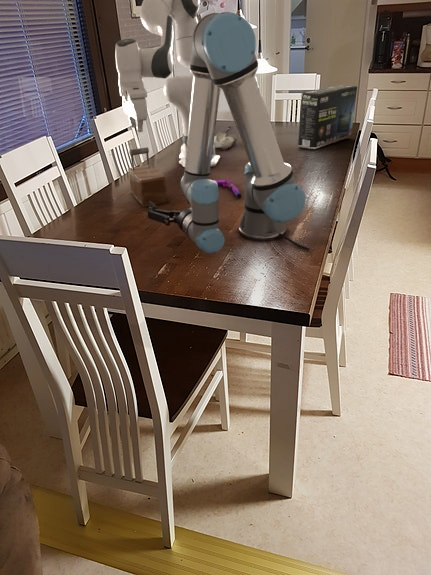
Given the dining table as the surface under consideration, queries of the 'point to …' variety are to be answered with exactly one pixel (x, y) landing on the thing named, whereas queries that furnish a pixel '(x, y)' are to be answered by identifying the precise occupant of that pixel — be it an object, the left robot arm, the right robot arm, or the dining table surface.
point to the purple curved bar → (229, 184)
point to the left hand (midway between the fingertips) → (136, 129)
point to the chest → (148, 191)
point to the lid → (144, 168)
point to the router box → (326, 115)
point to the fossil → (224, 140)
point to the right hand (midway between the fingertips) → (169, 201)
